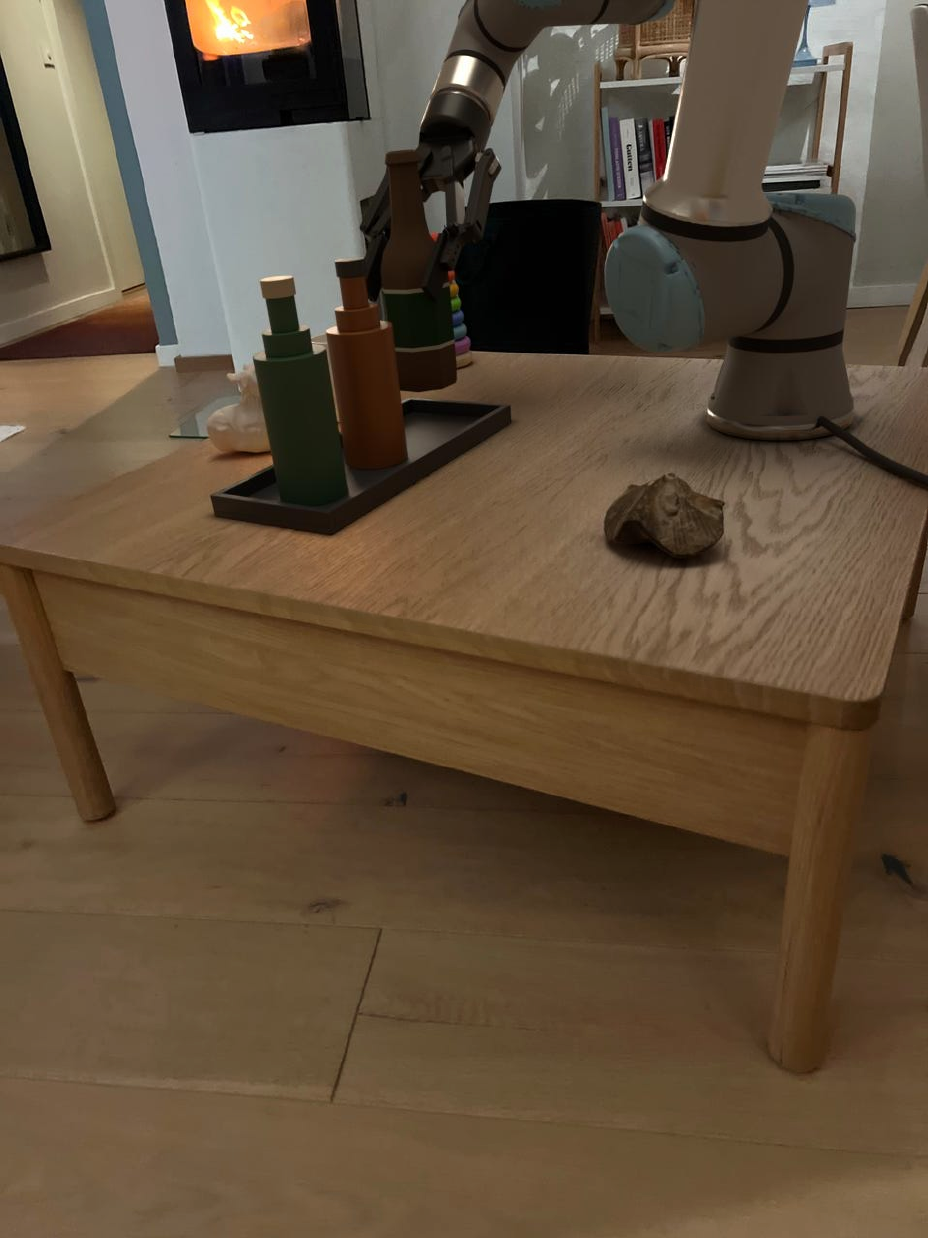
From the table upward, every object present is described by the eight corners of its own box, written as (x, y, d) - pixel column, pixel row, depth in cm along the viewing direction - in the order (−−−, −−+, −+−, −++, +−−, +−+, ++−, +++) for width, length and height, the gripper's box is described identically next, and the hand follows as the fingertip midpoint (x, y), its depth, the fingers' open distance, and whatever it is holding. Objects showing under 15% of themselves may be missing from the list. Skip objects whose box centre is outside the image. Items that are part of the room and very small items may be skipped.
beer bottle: (451, 392, 100) (429, 148, 89) (383, 394, 102) (353, 155, 90) (465, 374, 107) (446, 145, 95) (401, 376, 108) (375, 151, 97)
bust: (220, 479, 106) (225, 415, 97) (194, 430, 108) (196, 363, 99) (312, 454, 112) (325, 391, 102) (286, 408, 114) (296, 342, 104)
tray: (410, 414, 116) (408, 397, 114) (511, 422, 109) (510, 404, 108) (214, 516, 89) (209, 495, 88) (331, 535, 82) (327, 512, 81)
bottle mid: (419, 459, 97) (396, 256, 88) (362, 474, 94) (332, 266, 85) (390, 445, 103) (365, 252, 93) (335, 459, 100) (304, 262, 90)
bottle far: (359, 494, 89) (326, 275, 80) (295, 512, 86) (253, 287, 77) (330, 477, 95) (297, 269, 85) (270, 494, 92) (227, 281, 82)
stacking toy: (419, 362, 142) (405, 233, 133) (470, 356, 142) (459, 227, 133) (423, 373, 135) (408, 238, 126) (476, 367, 135) (465, 232, 126)
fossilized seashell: (752, 518, 71) (664, 504, 80) (714, 458, 68) (627, 450, 76) (696, 589, 70) (613, 568, 78) (655, 531, 66) (572, 515, 75)
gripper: (553, 133, 99) (493, 316, 95) (401, 147, 109) (341, 313, 105) (529, 78, 93) (464, 271, 89) (370, 97, 102) (304, 272, 98)
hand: (397, 294), depth 97 cm, fingers closed on beer bottle, 7 cm apart
